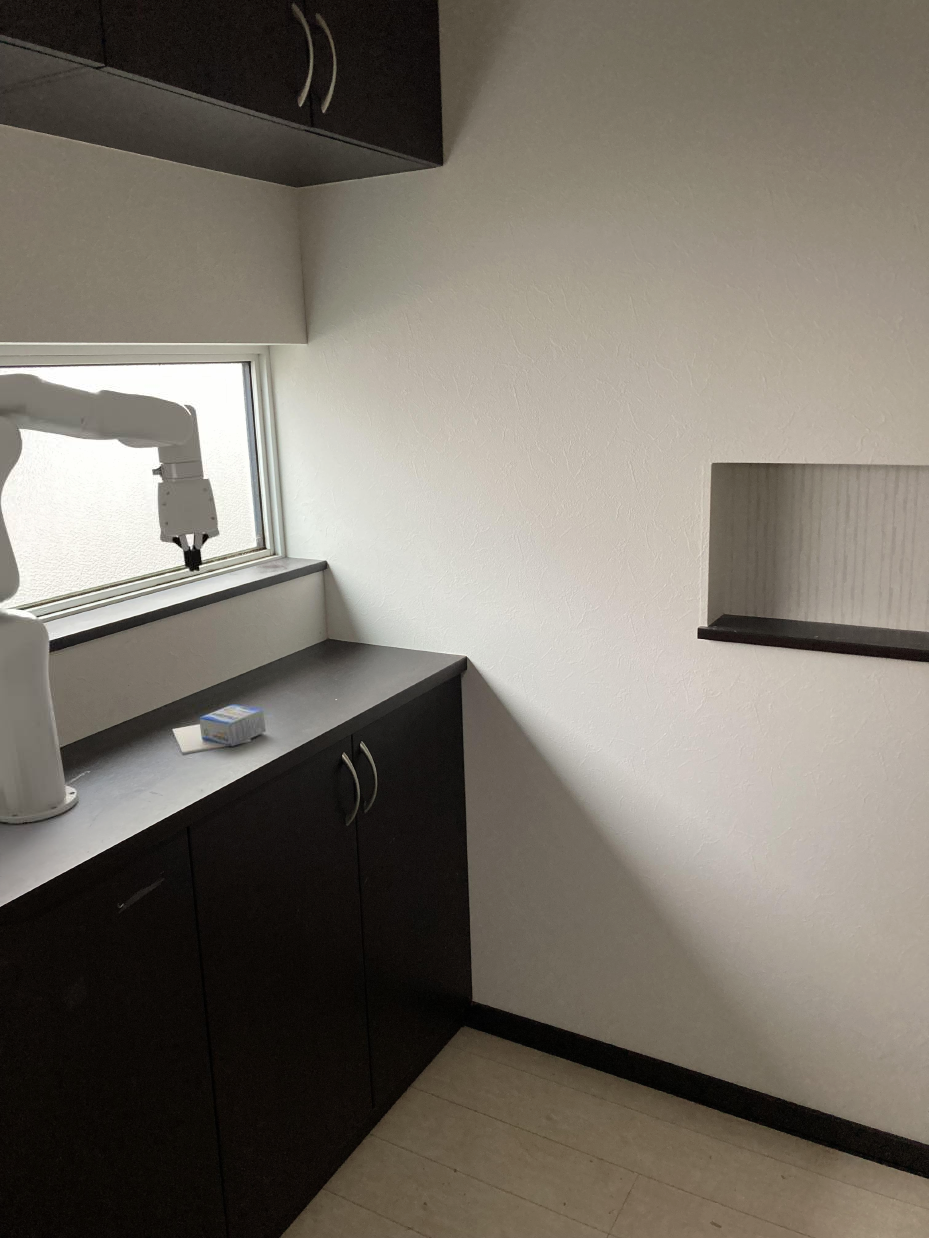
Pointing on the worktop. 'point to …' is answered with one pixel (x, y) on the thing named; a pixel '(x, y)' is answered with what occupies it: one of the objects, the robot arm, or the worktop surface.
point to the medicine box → (232, 724)
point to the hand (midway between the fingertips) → (194, 570)
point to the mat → (195, 740)
